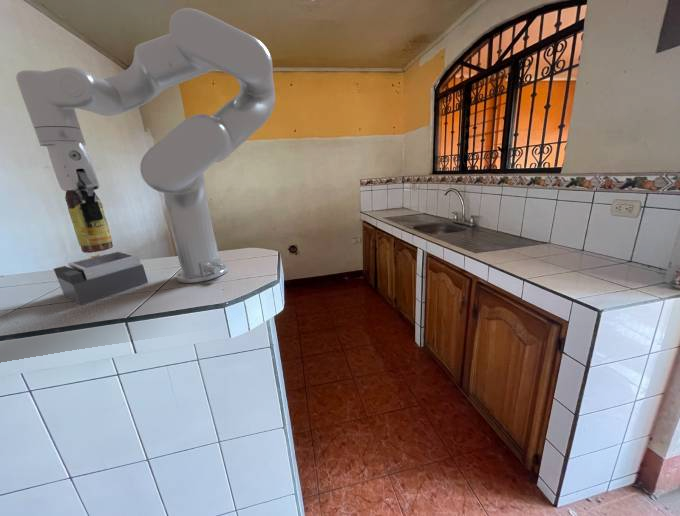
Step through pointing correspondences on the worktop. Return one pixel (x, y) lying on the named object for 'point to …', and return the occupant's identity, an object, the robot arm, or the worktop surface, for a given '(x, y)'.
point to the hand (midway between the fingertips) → (89, 219)
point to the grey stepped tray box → (100, 276)
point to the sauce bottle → (88, 226)
